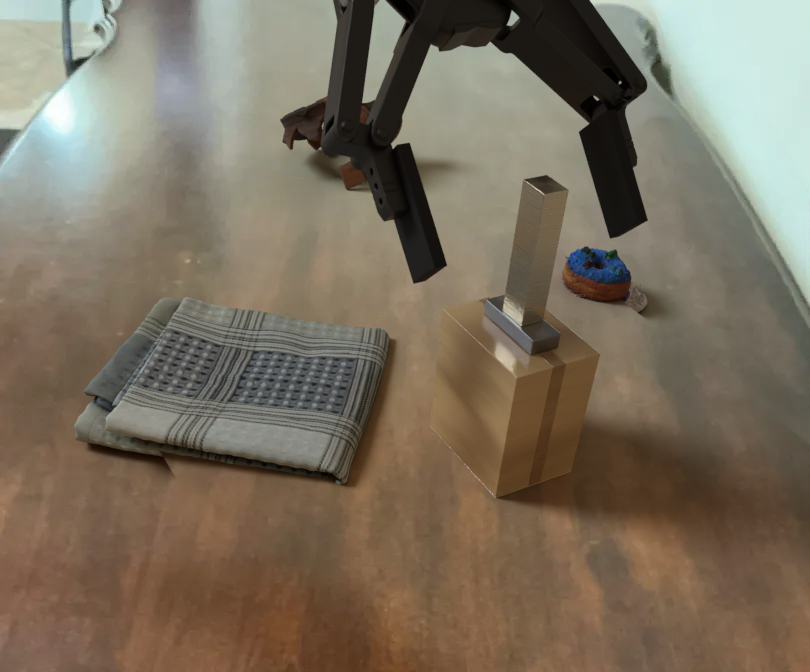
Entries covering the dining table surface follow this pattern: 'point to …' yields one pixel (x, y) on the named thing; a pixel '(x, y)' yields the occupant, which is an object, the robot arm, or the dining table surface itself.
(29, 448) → the dining table surface
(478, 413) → the knife block
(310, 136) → the brown wooden irregular piece
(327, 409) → the dish towel
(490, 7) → the robot arm
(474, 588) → the dining table surface
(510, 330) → the knife
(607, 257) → the dessert
